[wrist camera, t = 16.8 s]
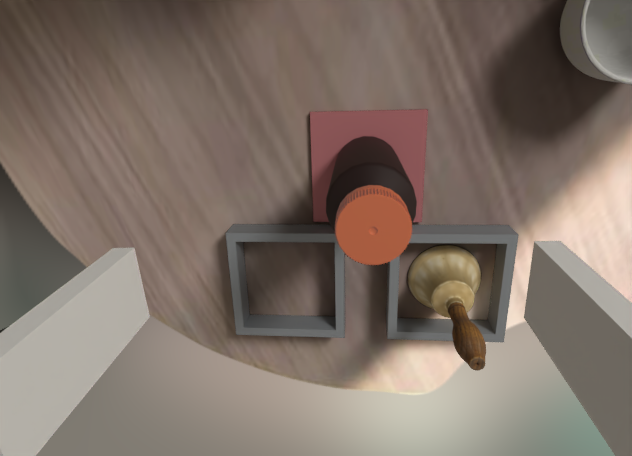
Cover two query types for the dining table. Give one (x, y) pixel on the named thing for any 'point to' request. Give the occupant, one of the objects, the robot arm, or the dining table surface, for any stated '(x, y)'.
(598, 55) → the teacup
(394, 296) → the bell tray
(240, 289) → the tray
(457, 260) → the hand bell
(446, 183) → the dining table surface
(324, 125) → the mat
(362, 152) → the vinegar
